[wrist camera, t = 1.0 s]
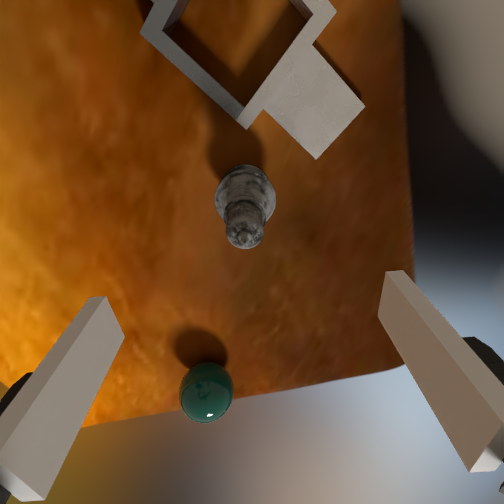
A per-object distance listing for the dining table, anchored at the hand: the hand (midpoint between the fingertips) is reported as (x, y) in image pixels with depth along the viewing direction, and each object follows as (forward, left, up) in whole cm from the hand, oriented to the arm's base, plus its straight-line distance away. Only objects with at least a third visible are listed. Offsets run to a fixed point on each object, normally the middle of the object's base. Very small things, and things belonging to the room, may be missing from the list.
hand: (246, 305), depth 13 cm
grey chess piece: (0, 0, -19) cm, 19 cm away
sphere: (+14, -26, -19) cm, 35 cm away
